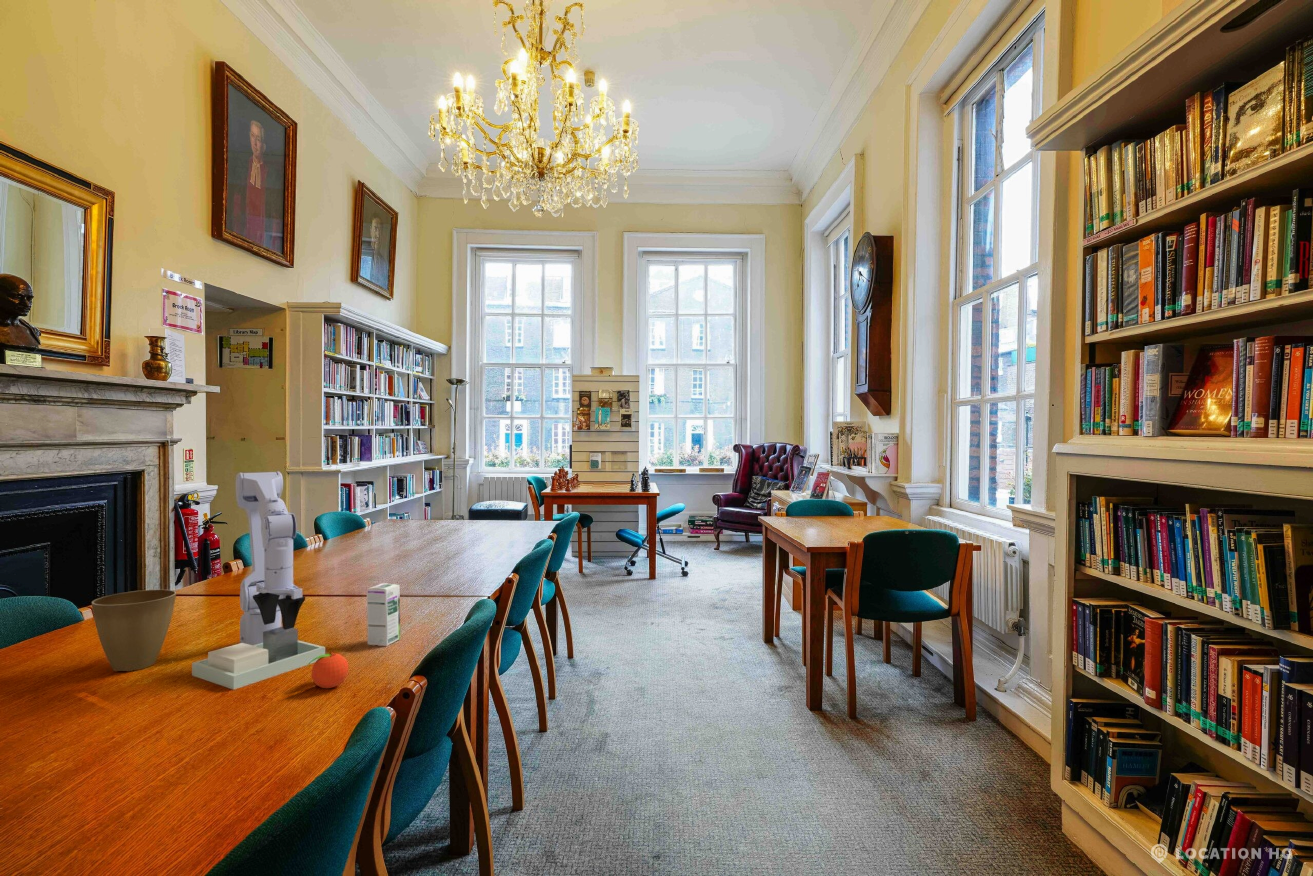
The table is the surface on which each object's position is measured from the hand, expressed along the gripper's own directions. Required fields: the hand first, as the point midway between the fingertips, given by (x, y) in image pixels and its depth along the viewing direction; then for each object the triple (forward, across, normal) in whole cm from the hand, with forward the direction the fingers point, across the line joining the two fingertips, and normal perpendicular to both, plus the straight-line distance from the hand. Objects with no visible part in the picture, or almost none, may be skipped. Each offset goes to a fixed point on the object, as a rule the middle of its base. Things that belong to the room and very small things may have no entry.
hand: (279, 626), depth 144 cm
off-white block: (+8, 0, -9) cm, 12 cm away
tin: (+8, 0, 0) cm, 8 cm away
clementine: (+9, +22, -3) cm, 24 cm away
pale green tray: (+9, 0, -4) cm, 10 cm away
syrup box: (+9, +8, +22) cm, 25 cm away
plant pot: (+9, -28, -16) cm, 34 cm away
